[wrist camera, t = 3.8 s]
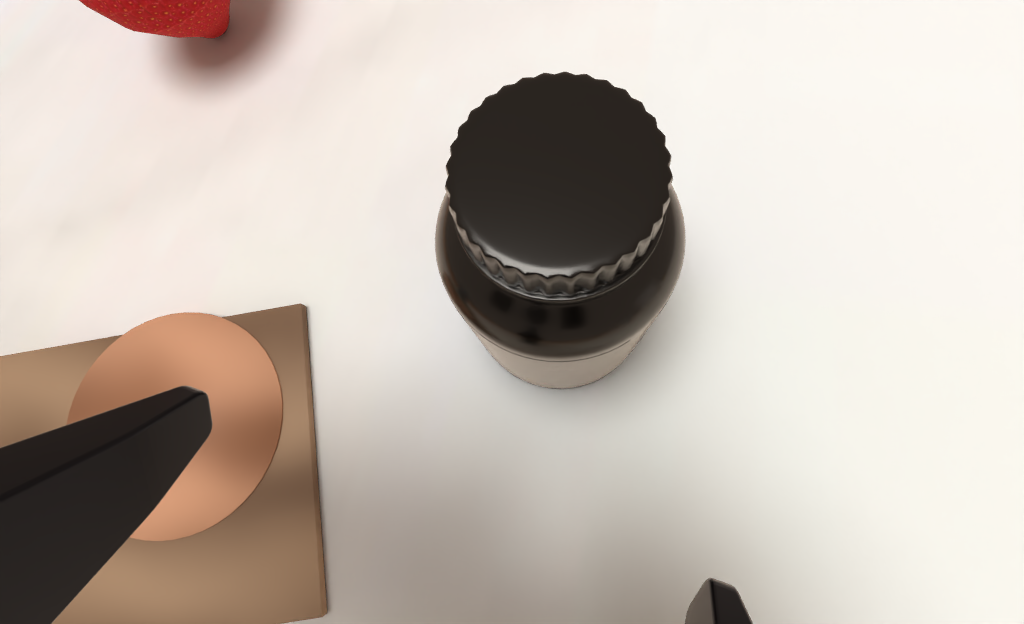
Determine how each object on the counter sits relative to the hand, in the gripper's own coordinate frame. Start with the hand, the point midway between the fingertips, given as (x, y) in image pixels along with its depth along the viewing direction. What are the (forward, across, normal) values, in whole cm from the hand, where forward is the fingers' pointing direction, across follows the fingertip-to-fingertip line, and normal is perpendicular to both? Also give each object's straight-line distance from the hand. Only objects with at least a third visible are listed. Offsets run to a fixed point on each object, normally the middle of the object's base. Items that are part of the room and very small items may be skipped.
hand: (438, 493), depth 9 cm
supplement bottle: (+14, 0, +4) cm, 15 cm away
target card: (+4, +17, +14) cm, 22 cm away
